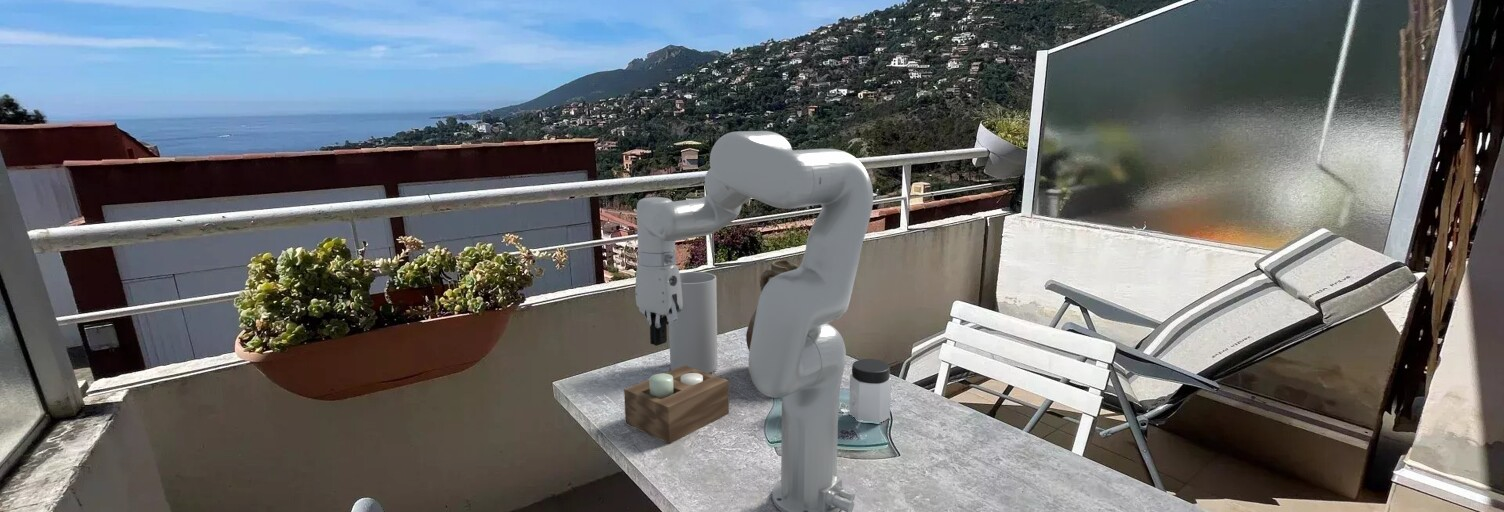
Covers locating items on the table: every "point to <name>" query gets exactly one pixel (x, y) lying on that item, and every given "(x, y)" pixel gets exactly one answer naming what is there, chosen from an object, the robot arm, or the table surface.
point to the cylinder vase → (695, 324)
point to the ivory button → (691, 378)
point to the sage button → (661, 385)
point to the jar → (870, 390)
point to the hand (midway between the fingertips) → (658, 343)
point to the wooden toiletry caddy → (677, 405)
